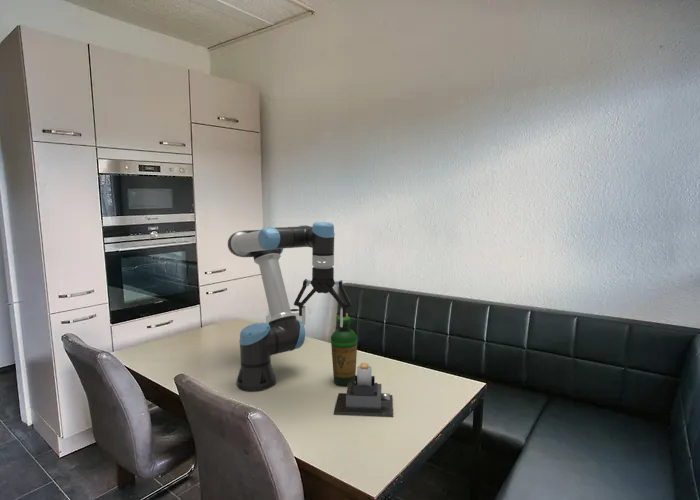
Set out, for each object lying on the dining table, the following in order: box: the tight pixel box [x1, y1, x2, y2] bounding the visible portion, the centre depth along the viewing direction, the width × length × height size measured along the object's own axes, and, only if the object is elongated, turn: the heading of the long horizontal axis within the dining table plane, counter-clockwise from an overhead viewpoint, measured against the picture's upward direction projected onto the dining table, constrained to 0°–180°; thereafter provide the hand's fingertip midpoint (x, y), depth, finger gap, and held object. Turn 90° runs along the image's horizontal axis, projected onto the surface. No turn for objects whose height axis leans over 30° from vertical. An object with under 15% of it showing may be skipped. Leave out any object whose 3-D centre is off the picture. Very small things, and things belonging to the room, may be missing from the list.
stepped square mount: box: [333, 374, 394, 418], centre depth 144 cm, size 20×14×9 cm
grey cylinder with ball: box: [356, 362, 373, 386], centre depth 144 cm, size 5×5×9 cm
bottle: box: [330, 312, 359, 387], centre depth 163 cm, size 11×11×28 cm
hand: (322, 325), depth 146 cm, fingers open, 13 cm apart
